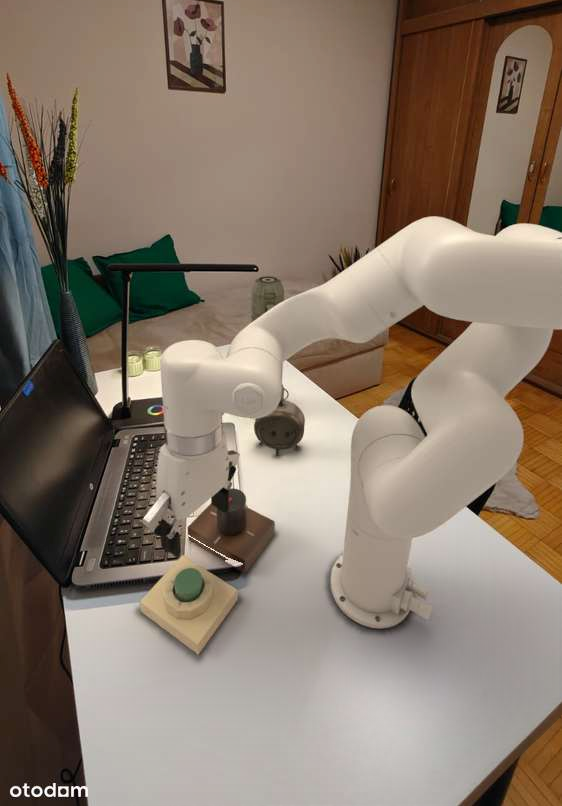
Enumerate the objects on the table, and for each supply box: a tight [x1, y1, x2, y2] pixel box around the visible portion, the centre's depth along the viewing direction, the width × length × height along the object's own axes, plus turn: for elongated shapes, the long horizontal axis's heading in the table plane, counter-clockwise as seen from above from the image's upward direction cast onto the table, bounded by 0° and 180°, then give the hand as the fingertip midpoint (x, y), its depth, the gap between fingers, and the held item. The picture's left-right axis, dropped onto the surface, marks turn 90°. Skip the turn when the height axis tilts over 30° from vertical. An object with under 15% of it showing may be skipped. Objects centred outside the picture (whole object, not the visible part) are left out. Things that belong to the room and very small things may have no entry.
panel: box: [187, 502, 276, 575], centre depth 76 cm, size 12×9×3 cm
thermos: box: [250, 275, 285, 400], centre depth 107 cm, size 9×12×35 cm
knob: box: [216, 487, 247, 536], centre depth 75 cm, size 5×5×6 cm
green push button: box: [174, 568, 203, 602], centre depth 64 cm, size 4×4×2 cm
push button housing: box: [139, 554, 239, 656], centre depth 65 cm, size 11×9×4 cm
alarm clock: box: [253, 387, 306, 457], centre depth 96 cm, size 11×5×16 cm, turn 84°
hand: (197, 527), depth 65 cm, fingers open, 9 cm apart
